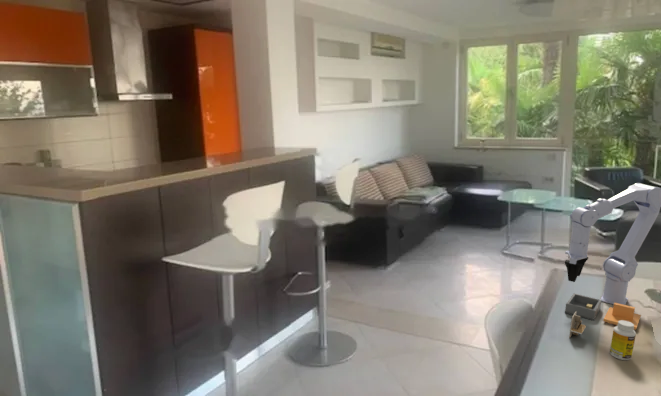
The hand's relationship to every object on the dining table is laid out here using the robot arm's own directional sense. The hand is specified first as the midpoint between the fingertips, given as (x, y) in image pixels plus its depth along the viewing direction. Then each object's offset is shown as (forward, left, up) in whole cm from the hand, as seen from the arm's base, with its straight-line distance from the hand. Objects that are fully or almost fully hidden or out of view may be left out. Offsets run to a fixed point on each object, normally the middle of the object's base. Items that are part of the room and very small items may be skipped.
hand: (574, 278), depth 179 cm
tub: (+5, +5, -9) cm, 12 cm away
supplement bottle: (+32, +20, -10) cm, 39 cm away
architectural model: (+27, +7, -10) cm, 30 cm away
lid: (+5, +17, -10) cm, 20 cm away
